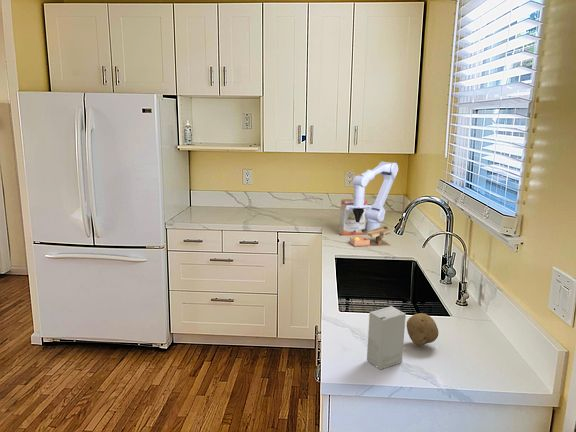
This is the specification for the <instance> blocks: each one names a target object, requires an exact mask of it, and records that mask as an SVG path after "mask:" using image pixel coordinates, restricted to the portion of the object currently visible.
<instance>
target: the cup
mask: <svg viewBox="0 0 576 432" xmlns="http://www.w3.org/2000/svg"><path fill="white" fill-rule="evenodd" d="M355 237H356V236H355ZM355 237H349V242H350V244H349V245H351V244H352V245H353V246H369V247H371V246H370V242H371V240H370V239H368V238H367V237H365V236H360V237H359V236H357V237H358V238H359V239H360V240H357V241H355V240H354V238H355ZM352 245H351V246H352ZM353 246H352V247H353Z"/></svg>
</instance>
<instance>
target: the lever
mask: <svg viewBox="0 0 576 432" xmlns="http://www.w3.org/2000/svg"><path fill="white" fill-rule="evenodd" d="M361 231H362V232H363V233H365V234H367V235H366V236H370V237H371V238H372V239H373V238H376V237H377V236H380V232H383V233H384V236H385V235H386V236H388V235H390V234H391V229H390V227H389V226H387V225H385V224H384V225H383V226H381V227H379V228H376V229H373V230H370V231H368V232H367V230H366V229H362V230H361Z"/></svg>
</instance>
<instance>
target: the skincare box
mask: <svg viewBox="0 0 576 432" xmlns="http://www.w3.org/2000/svg"><path fill="white" fill-rule="evenodd" d="M368 317H369V318H368V330H367V331H368V334H367V349H366V350H367V351H366V352H367V353H366V361H367V360H368V361H370V362H371V363H372V364H371V363H370V362H369V363H370V364H371V365H373V364H374V365H375V366H377V367H378V368H379V369H378V368H377V367H376V368H377V369H378V370H380V369H381V370H383V369H382V368H384V369H386V368H385V367H387V368H390V367H392V365H393V366H395V364H396V365H398V364H401V363H403V355H404V354H403V353H404V343H405V341H404V340H405V328H406V317H407V314H406V313H405V312H403V311H401V310H399V309H398V308H396V307H394V306H392V305H390V306H386V307H384V308H381V309H377V310H372V311H369V315H368ZM368 361H367V362H368ZM374 365H373V366H374ZM375 366H374V367H375ZM389 366H390V367H389Z"/></svg>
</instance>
